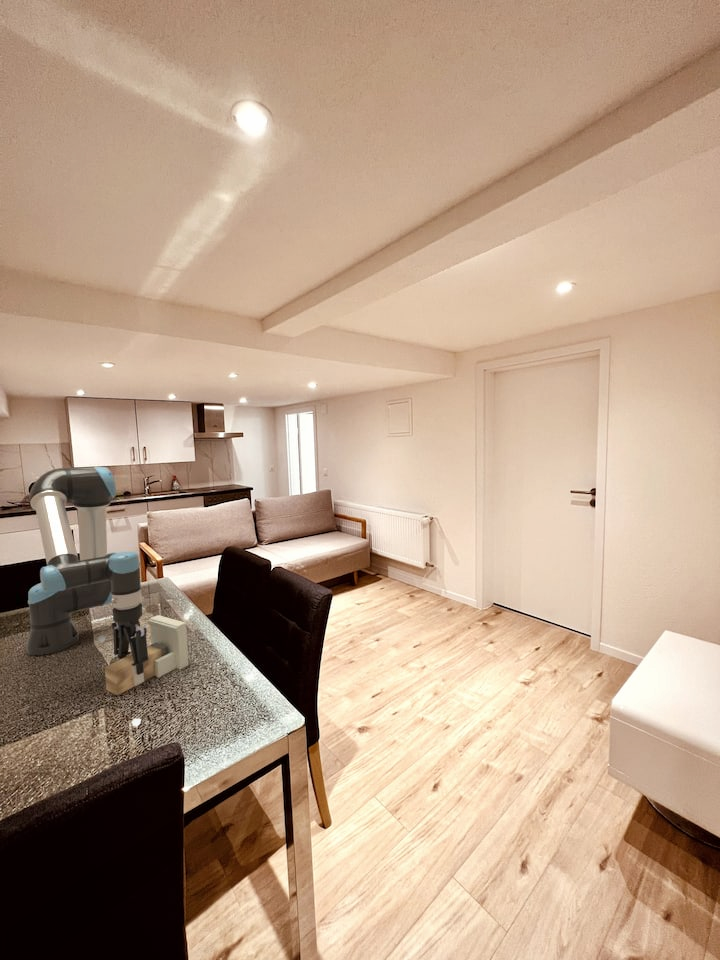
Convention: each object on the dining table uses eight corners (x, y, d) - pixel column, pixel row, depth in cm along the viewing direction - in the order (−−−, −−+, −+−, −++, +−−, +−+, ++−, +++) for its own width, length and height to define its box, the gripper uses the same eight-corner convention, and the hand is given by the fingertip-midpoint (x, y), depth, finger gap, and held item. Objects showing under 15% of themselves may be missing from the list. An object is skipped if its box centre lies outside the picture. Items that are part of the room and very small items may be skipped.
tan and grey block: (117, 695, 113) (116, 670, 113) (106, 690, 116) (104, 666, 116) (168, 668, 127) (167, 646, 127) (157, 663, 130) (156, 642, 130)
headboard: (134, 668, 128) (131, 625, 127) (160, 655, 136) (158, 615, 135) (162, 679, 121) (160, 634, 120) (188, 665, 129) (185, 622, 128)
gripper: (96, 604, 120) (101, 679, 121) (134, 615, 111) (139, 696, 112) (121, 596, 126) (126, 667, 128) (159, 605, 117) (163, 682, 119)
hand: (132, 680), depth 120 cm, fingers closed on tan and grey block, 5 cm apart
